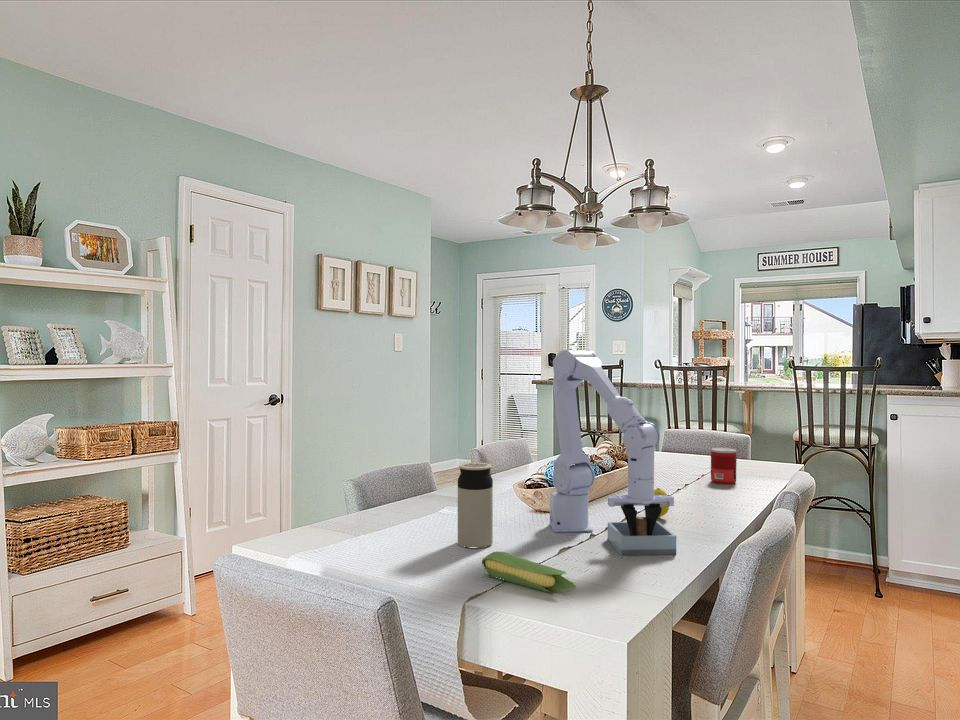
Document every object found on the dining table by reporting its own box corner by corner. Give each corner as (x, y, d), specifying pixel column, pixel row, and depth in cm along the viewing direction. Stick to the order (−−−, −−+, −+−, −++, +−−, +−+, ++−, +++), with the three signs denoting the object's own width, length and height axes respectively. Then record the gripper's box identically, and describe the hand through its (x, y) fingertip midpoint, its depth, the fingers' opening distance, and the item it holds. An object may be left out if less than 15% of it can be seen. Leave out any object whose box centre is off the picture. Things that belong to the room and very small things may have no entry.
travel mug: (497, 547, 146) (497, 467, 146) (462, 550, 144) (462, 468, 144) (486, 537, 154) (486, 461, 154) (453, 540, 152) (453, 462, 151)
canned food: (739, 484, 215) (740, 451, 214) (715, 484, 215) (715, 451, 215) (731, 480, 222) (731, 447, 222) (707, 479, 222) (707, 447, 222)
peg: (634, 546, 146) (634, 519, 146) (632, 542, 149) (632, 516, 149) (648, 547, 146) (648, 520, 146) (646, 543, 149) (646, 516, 148)
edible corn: (493, 548, 132) (480, 546, 129) (580, 572, 120) (567, 572, 116) (488, 574, 131) (474, 573, 128) (575, 601, 119) (562, 601, 115)
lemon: (670, 521, 168) (670, 490, 168) (647, 520, 169) (648, 489, 169) (668, 516, 174) (668, 486, 174) (646, 515, 175) (647, 485, 175)
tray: (621, 555, 141) (621, 536, 141) (607, 539, 153) (607, 522, 153) (676, 554, 141) (676, 536, 141) (658, 538, 153) (658, 521, 153)
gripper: (613, 481, 142) (613, 543, 143) (679, 480, 143) (678, 542, 143) (605, 474, 149) (605, 534, 150) (668, 474, 150) (667, 533, 150)
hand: (640, 537), depth 147 cm, fingers closed on peg, 3 cm apart
